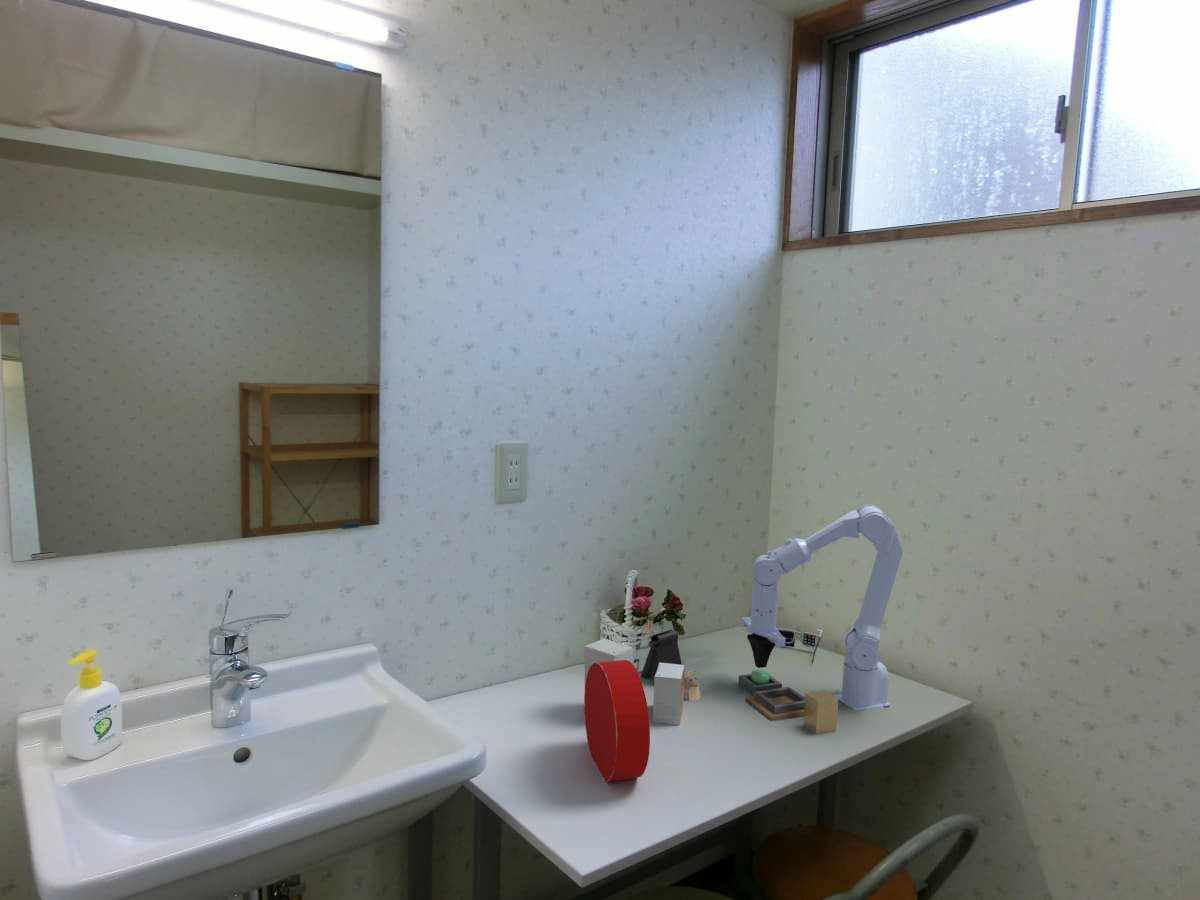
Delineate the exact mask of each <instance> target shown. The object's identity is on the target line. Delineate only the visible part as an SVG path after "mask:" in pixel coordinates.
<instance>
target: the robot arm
mask: <svg viewBox="0 0 1200 900" xmlns="http://www.w3.org/2000/svg"><path fill="white" fill-rule="evenodd" d="M859 534H861V535H862V536H863V538H865V539H866V540H868V541H869V542H870V543H871V544H872V545H873V546H874V548H875V550H876V551H877V553H876V555H875V559H874V564H873V566H872V569H871V574H870V577H869V581H868V582H867V583H868V584H867V586H866V587H867V588H866V591H865V594H864V598H863V599H862V600H863V601H862V604H861V608H860V611H859V614H858V617H857V619H856V620H855V621H854V623H853V624H854V625H853V627H852V629H851V630H850V631H849V632H848V633H847V634H846V636H845V639H844V641H845V642H844V643H845V647H846V649H847V651H848V652H847V655H846V656H845V657H844V659H843V660H844V661H843V671H842V672H843V673H842V688H841V689H842V690H841V693H837V694H833V695H834V696H836V697H838V701H841V702H842V703H844V704H845V705H847V706H849V707H850V708H852V709H854V710H855V711H860V710H865V709H871V708H878V707H883V708H886V707H890V705H891V703H889V702H888V697H889V696H888V695H889V679H890V677H889V676H890V675H889V672H888V669H887V667H886V665H885V664H884V663H882V662H881V661H880V658H881V657H880V656H881V655H880V650H879V645H880V641H881V626H882V624H883V620H884V617H885V613H886V609H887V607H888V603H889V600H890V597H891V593H892V590H893V586H894V584H895V580H896V577H897V573H898V570H899V567H900V562H901V559H902V556H903V551H904V550H903V547H902V544H901V541H900V539H899V536H898V533H897V530H896V526H895V524H893V522H892V521H891V520H890V518H889V517H888V516H887V515H886V514H885V513H884V511H883V510H882V509H881V508H880V507H879V506H877V505H874V504H864V505H862V506H861V507H859V508H858V509H854V510H851V511H849V512H848V513H846V514H844V515H842V516H841V517H839V518H837V519H836V520H835V521H832V522H831V523H829V524H828V525H826V526H825V527H823V528H821V529H819V530H818V531H817V532H815V533H813V534H812V535H810V536H808V537H806V538H805V539H802V538H799V537H798V538H797V537H796V538H794V539H792V538H791V537H789V538H788V539H786V540H785V544H783V545H781V546H779V547H777V548H776V549H773V550H772V549H770V550H768V551H766V554H762V555H760V556H758V557H757V558H755V561H754V562H753V565H752V569H753V571H752V572H753V577H754V578H753V580H752V584H753V587H752V589H751V605H750V606H751V607H750V609H751V610H750V616H748V617H741V626H742V627H743V628H745V631H746V632H747V633H749V634H747V637H746V638H747V640H748V642H749V645H750V647H751V651H752V655H753V656H752V657H753V660H754V665H755V667H757V669H763V668H766V667H767V665H768V663H769V659H770V656H771V654H772V651H773V650H774V648H775V647H777V648H780V647H786V646H785V637H783V636H782V635H781V634H780V632H779V631H778V630H777V629H778V628H777V615H778V598H779V590H778V589H779V588H778V581H779V580H780V579H781V575H786V574H788V573H789V572H792V571H794V570H795V569H798V568H799V567H801V566H803V565H804V564H806V563H808V562H810V560H811V557H812V554H813V553H814V552H817V551H818V550H821V549H822V548H824V547H826V546H829V545H831V544H832V543H834V542H837V541H839V540H840V539H842V538H844V537H847V538H853V539H860V535H859Z"/></svg>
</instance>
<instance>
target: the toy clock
mask: <svg viewBox="0 0 1200 900" xmlns="http://www.w3.org/2000/svg"><path fill="white" fill-rule="evenodd" d="M646 696H647V695H646V693H645V689H644V686H643V681H642V680H641V675H640V674H639V671H638V670H637V668H636V667H635V665H634V663H633V664H632V663H631V662H630V661H628V660H619V661H607V662H595V663H593V664H592V665H591V666H590V668H589V670H588V673H587V677H586V683H585V682H584V695H583V697H584V698H583V699H584V700H583V701H584V702H583V703H584V705H583V708H584V724H585V732H586V739H587V746H588V750H589V754H590V756H591V759H592V760H593V761H594V763H595V766H596V767H597V769H598V770H599V772H600V773H599V774H601V776H602V778H603V780H604V782H605V783H609V782H615V781H616V782H617V781H623V780H629V779H630V780H631V779H638V778H640V777H642V776H643V774H645V771H646V769H647V766H648V762H649V756H650V747H651V729H650V728H651V727H650V725H651V724H650V716H649V715H650V714H649V707H648V702H647V697H646Z"/></svg>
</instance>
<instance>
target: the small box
mask: <svg viewBox="0 0 1200 900" xmlns="http://www.w3.org/2000/svg"><path fill="white" fill-rule="evenodd" d="M685 670H686V668H685V664H682V665H679V664H669V663H659V665H658V669H657V672H656V674H655V676H653V678H654V679H653V682H654V683H653V705H652V708H653V709H652V722H654V723H659V724H666V725H673V726H680V725H681V720H682V716H683V710H684V709H683V708H684V699H683V693H684V677H685Z"/></svg>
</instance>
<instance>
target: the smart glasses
mask: <svg viewBox="0 0 1200 900" xmlns="http://www.w3.org/2000/svg"><path fill="white" fill-rule="evenodd" d="M777 630H778V631H779V632H780V634H781V635H782V636H783V637H785V646H784V647H791V648H792V647H793V648H794V647H795V641H796V635H799V639H800V643H801V644H802V646H804V647H806V648H814V651H813V655H812V660H811V665H813V663H814V660H815V659H814V658H815V653H816V652H817V649H818V647H819V644H820V642H821V640H822V633H823V630H822V629H816V632H819V634H815V633H814V632H813V633H812V632H809V631H795V630H793V629H790V628H785V627H783V628H777ZM802 635H803V636H802ZM802 637H803V638H802ZM816 638H817V642H816Z"/></svg>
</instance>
